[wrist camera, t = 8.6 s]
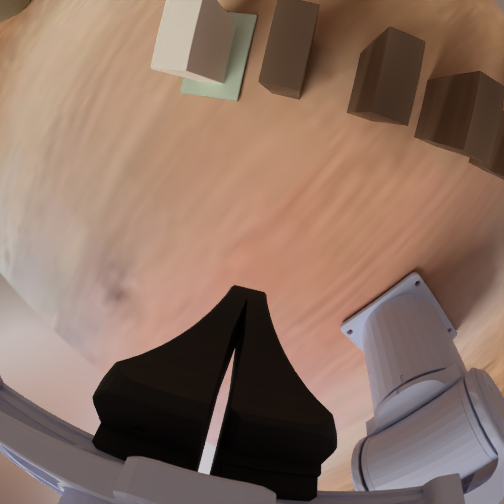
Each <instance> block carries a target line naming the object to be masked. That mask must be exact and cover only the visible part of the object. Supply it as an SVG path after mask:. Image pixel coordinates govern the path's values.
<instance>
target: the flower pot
mask: <svg viewBox="0 0 504 504" xmlns="http://www.w3.org/2000/svg"><path fill="white" fill-rule="evenodd" d="M30 1H31V0H0V23H1V22H3V21H5V20H7V19H9V18H11V17H13V16H15V15H17V14H18V13H20V12H21V11H22V10H23V9H24V8H25V7H26V6H27V5H28V4H29V2H30Z"/></svg>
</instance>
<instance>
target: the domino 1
mask: <svg viewBox="0 0 504 504" xmlns="http://www.w3.org/2000/svg"><path fill="white" fill-rule="evenodd" d="M235 29H236V24H235V23H234V21H233V20H232V19H231V17H230V16H229V15H228V14H227V12H226V11H225V10H224V9H223V7H222V6H221V5H220V4H219V2H218V1H217V0H166V3H165V7H164V10H163V14H162V18H161V22H160V26H159V30H158V35H157V39H156V44H155V48H154V53H153V58H152V63H151V68H150V69H153V70H157V71H162V72H166V73H170V74H174V75H178V76H181V77H185V78H189V79H192V80H196V81H202V82H211V83H219V84H224V79H225V75H226V70H227V65H228V60H229V56H230V51H231V47H232V42H233V38H234V33H235Z"/></svg>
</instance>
